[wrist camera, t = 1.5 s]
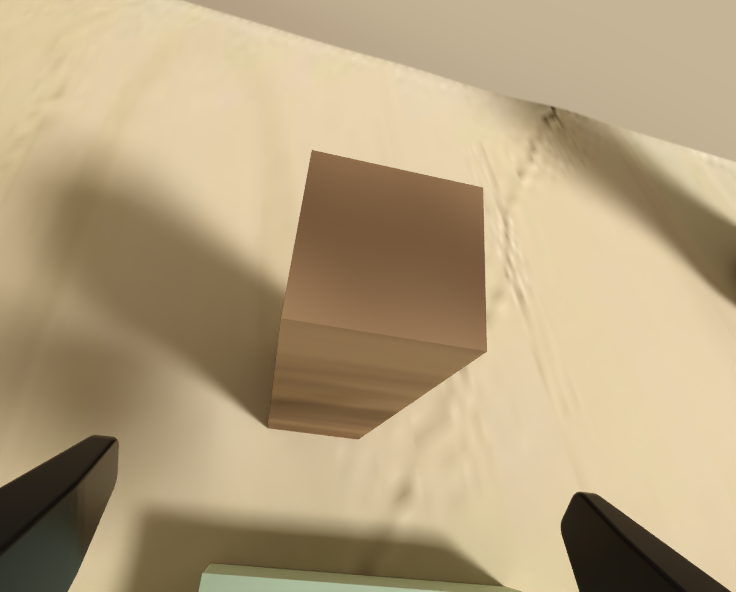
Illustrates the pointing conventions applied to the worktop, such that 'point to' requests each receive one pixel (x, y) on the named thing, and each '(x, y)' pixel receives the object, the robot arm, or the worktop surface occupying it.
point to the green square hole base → (320, 582)
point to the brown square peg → (376, 295)
